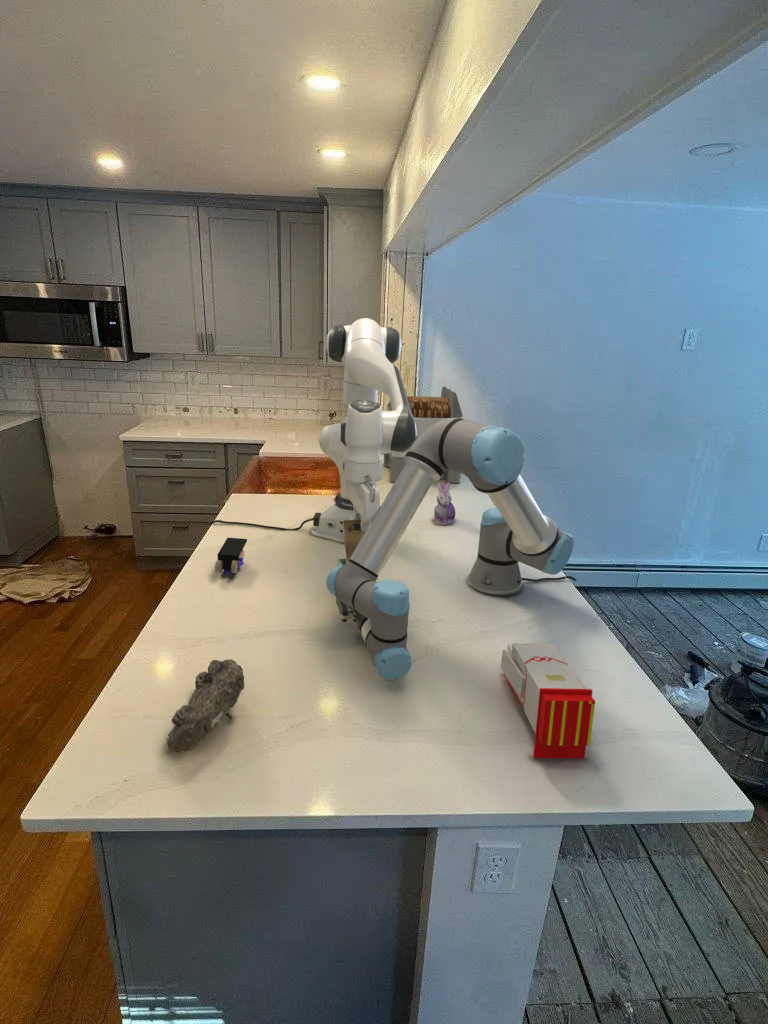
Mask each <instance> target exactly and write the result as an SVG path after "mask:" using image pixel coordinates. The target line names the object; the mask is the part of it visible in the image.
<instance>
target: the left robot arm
mask: <svg viewBox="0 0 768 1024" xmlns="http://www.w3.org/2000/svg"><path fill="white" fill-rule="evenodd" d="M402 346H403V345H402V339H401V336H400V333H399V331H398V329H396V328H393V327H389V326H386V327H383V326H380V324H379V323H378V322H377V321H375V320H374V319H371V318H369V317H368V318H367V317H363V318H362V317H361V318H359V319H357V320H355V321H353V323H351V324H348V325H344V324H337V325H332V327H331V328H329V331H328V333H327V335H326V338H325V349H326V352H327V354H328V357H329V359H331V361H334V362H337V363H344V370H343V386H342V387H343V389H342V403H343V406H344V407H345V408H346V410H347V412H346V413H345V414H344V415H343V416H342V417H341V418H340V421H339V422H338V423H334V424H329V425H325V426H324V427H322V429H321V431H320V433H319V437H318V444H319V447H320V449H321V451H322V452H323V454H325V455H326V456H327V457H328V458H330V459H331V460H332V462H333V463H334V464H335V466H336V467H337V470H338V473H339V483H340V484H339V485H340V488H339V489H340V490H339V491H338V492H337V494H336V495H335V496H334V497H333V502H334V504H333V505H331V506H329V507H328V508H326V509H325V510H323V512H315V513H314V515H313V517H312V518H309V519H305V520H304V521H302V522H301V524H300V526H297V527H295V528H287V527H279V526H271V525H265V524H258V523H252V522H251V523H249V522H241V521H226V520H221V519H220V520H219V519H216V520H213V521H211V522H210V523H209V525H214V524H216V523H220V524H226V525H241V526H251V527H257V528H263V529H270V530H271V529H272V530H280V531H298V530H301V529H302V528H303V526H304V525H305V524H306V523H308V522H311V521H312V523H313V524H312V528H311V530H310V533H311V536H315V537H319V538H323V539H326V540H330V541H336V542H339V543H343V544H345V543H344V530H343V520H355V521H356V522H361V523H360V528H361V530H362V531H365V532H366V530H367V529H368V527H369V525H370V524H371V522H372V520H373V518H374V517H375V515H376V513H377V512H378V510H379V509H380V507H381V497H380V489H379V487H378V486H377V482H379V481H381V480H382V476H383V475H382V474H383V472H382V471H383V470H382V469H383V456H384V454H387V453H390V452H391V451H395V452H405V451H406V450H408V449H409V448H410V447H411V446H412V444H413V443H414V442H415V440H416V434H417V429H416V424H415V421H414V417H413V415H412V412H411V410H410V407H409V403H408V400H407V396H408V395H407V396H406V393H407V391H406V392H405V390H406V388H405V385H404V382H403V378H402V375H401V372H400V370H399V368H398V366H396V365H394V363H396V361H398V359H399V357H400V355H401V352H402ZM379 392H381V393H383V394H385V395H386V396H387V397H388V399H389V401H390V403H391V407H392V411H387V410H382V406H381V404H380V403H379ZM382 455H383V456H382Z"/></svg>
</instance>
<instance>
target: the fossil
mask: <svg viewBox="0 0 768 1024" xmlns="http://www.w3.org/2000/svg"><path fill="white" fill-rule="evenodd" d="M243 670H244V669H243V667H242V665H240V664H237V662H236V661H235V660H234V659H232V658H231V659H227V658H226V659H224V660H223V661H222V660H217V659H212V660H211V661H210V663H209V665H208V666H207V671H201V672H199V673H198V674H197V675H196V676H195V680H194V684H195V685H194V687H195V689H194V690H193V693H192V694H191V697H190V698H189V700H188V704H184V705H182V706H181V707H180V709H177V710H176V711H175V713H174V715H173V716H172V718H171V723H172V724H173V727H172V730H171V731H170V732H168V734H167V738H166V741H167V742H166V745H167V749H168V750H169V751H173V752H174V753H176V754H178V753H182V752H188V751H189V752H192V751H193V750H195V748H196V747H197V746H199V744H200V743H201V742H203V741H204V740H205V739H206V738H207V737H208V736H209V735H210V734H211V733H212V732H214V730H215V729H217V727H218V726H219V724H220V722H221V721H222V720H223V719H224V718H225V716H226V717H227V719H229V720H233V717H232V715H230V714H229V710H230V709H231V708H234V706H235V704H236V703H237V702H238V699H239V697H240V695H241V693H242V691H243V690H245V689H244V688H245V675H244V671H243Z"/></svg>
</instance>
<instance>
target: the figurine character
mask: <svg viewBox="0 0 768 1024" xmlns="http://www.w3.org/2000/svg"><path fill="white" fill-rule="evenodd" d="M247 542H248V538H240V537H226V539H225V541H224V543H223V544H222V546H221V547H220V549H219V551H218V552H217V560H216V562H215V564H214V572H215V573H221V577H222V578H224V577H225V576H226V574H227V573H230V574H231V573H232V574H231V578H234V577H235V575H236V573H237V572H239V571H240V567H242V566H243V565H244V564H245V562H244V558H245V551H244V547H245V546H246V544H247Z"/></svg>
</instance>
